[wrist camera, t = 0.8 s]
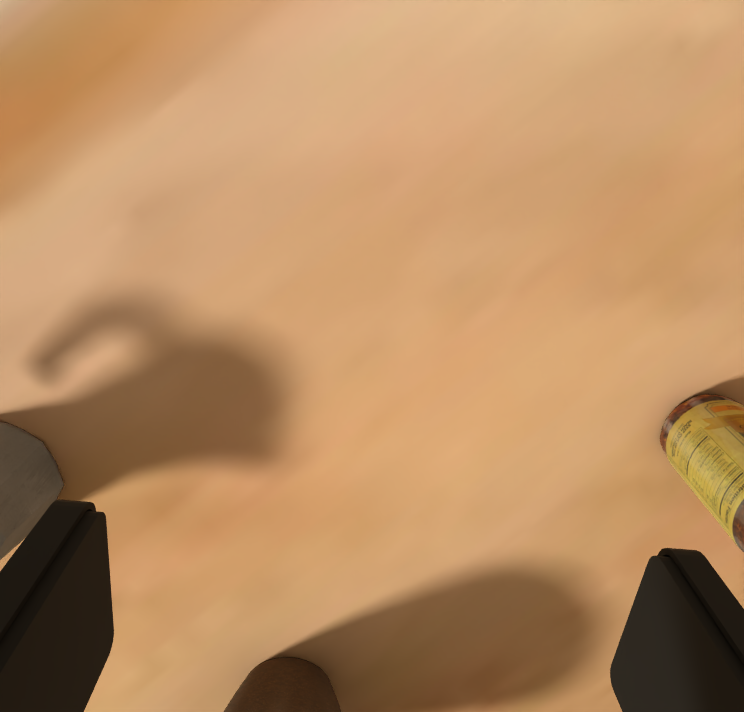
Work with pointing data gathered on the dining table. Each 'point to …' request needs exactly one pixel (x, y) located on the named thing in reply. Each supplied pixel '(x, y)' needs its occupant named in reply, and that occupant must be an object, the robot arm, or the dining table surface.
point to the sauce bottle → (710, 456)
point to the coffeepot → (24, 484)
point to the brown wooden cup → (285, 689)
